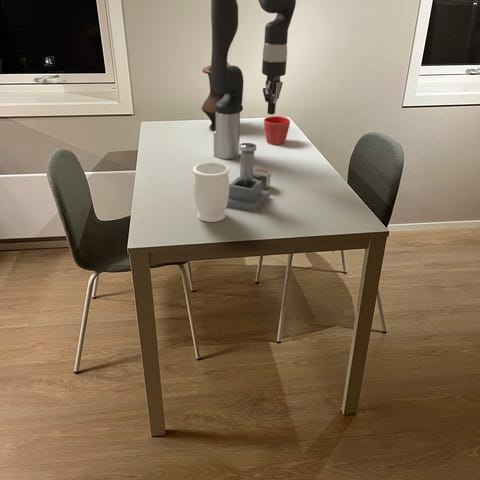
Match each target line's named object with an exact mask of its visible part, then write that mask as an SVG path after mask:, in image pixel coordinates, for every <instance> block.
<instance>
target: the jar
mask: <svg viewBox="0 0 480 480" xmlns="http://www.w3.org/2000/svg"><path fill="white" fill-rule="evenodd" d="M192 172H193V175H194V176H193V183H192V184H193V185H192V191H193V197H194V201H195V206H196V209H197V211H198V213H197V217H198V219H199V220H201V221H203V222H205V223H206V222H207V223H217V222H221V221H222V220H224V219H225V218H226V216H227V215H226V212H225V211H226V208H227V203H228V197H229V185H230V180H229V173H230V167H229V166H228V165H226V163H225V164H224V163H221V162H217V161H215V162H214V161H207V162H206V161H205V162H201V163H197V164H196V165H194V166H193V167H192Z"/></svg>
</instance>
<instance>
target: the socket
mask: <svg viewBox="0 0 480 480" xmlns="http://www.w3.org/2000/svg"><path fill="white" fill-rule="evenodd" d="M239 185H240V176H237V177H236V179H234V180H233V181H232V182H231V183H229V197H228V203H227V207H228V208H233V209H238V210H244V211H249V212H254V213H257V212H258V210H260V208H261V207H262V206H263V205H264V204H265V202H266V201H268V199H269V198H270V191H269V190H267V191H264V190H262V181H259V180H253V183H252V187H251V188H247V187H241V186H239ZM227 207H226V208H227Z"/></svg>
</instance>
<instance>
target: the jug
mask: <svg viewBox="0 0 480 480" xmlns="http://www.w3.org/2000/svg"><path fill="white" fill-rule="evenodd" d="M227 66H233V65H231V64H229V63H228V62H227ZM201 71H202V72H203V73H204V74H207V76H208V80H209V81H208V82H209V89H210V90H209V95H208V96H207V98H206V99H205V101H203V102H204V103H203V104H202V106H201V111H202V112H203V113H204V114H205V115H206V116H207V117H208V119H209V120H210V122H211V124H210V125H209V130H211V131H213V132H214V131H216V111H215V106H216V103H217V102H219V101H220V100H221V99H222V98H223V96H224V94H216V93H215V92H214V91H213V89H212V86H211V79H210V74H211V65H208V66H204V67H203V68H202V70H201ZM243 109H244V107H243V103H242V104H241V107H240V113H241V112H242V111H243Z"/></svg>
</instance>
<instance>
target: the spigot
mask: <svg viewBox="0 0 480 480" xmlns="http://www.w3.org/2000/svg"><path fill="white" fill-rule="evenodd" d="M239 151H240V165H239V167H240V168H239V169H240V170H239V177H240V185H239V186H241V187H247V188H251V187H252V183H253V170H254V165H255V163H254V162H255V151H257V144H255V143H253V142H242V143H239Z"/></svg>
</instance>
